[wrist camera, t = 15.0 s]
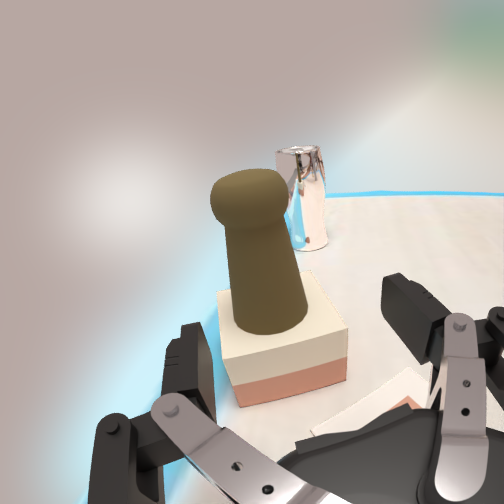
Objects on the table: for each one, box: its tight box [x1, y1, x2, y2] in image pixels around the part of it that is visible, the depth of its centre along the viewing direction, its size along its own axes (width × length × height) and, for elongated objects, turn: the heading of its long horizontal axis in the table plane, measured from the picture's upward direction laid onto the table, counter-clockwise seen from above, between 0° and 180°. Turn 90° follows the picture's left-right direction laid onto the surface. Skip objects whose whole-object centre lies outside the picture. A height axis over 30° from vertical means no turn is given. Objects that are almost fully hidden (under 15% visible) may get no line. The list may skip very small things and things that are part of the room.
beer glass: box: [275, 145, 328, 251], centre depth 44 cm, size 7×7×15 cm
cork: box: [210, 169, 308, 335], centre depth 21 cm, size 6×6×11 cm
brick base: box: [217, 270, 348, 408], centre depth 25 cm, size 9×9×6 cm
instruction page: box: [310, 366, 429, 436], centre depth 17 cm, size 10×7×1 cm
